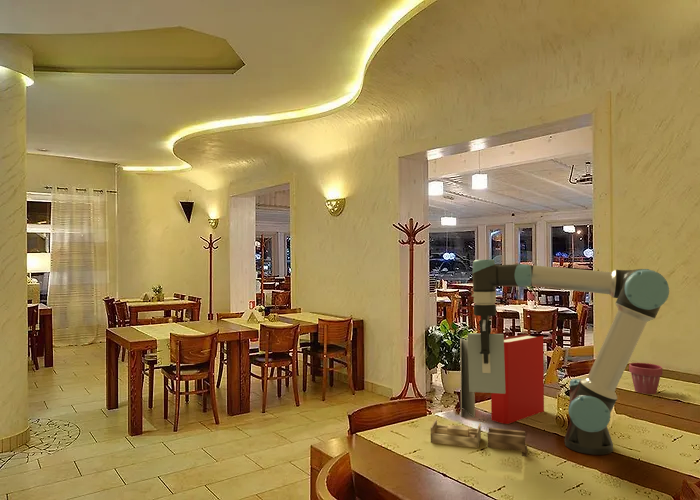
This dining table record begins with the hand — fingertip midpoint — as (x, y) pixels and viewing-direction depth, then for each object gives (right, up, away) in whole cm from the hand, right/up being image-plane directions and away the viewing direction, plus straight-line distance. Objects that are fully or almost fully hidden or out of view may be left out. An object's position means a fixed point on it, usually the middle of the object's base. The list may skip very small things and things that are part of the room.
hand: (486, 371), depth 180 cm
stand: (+6, -26, -4) cm, 27 cm away
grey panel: (0, -7, 0) cm, 7 cm away
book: (+22, -26, +35) cm, 49 cm away
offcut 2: (-9, -24, 0) cm, 26 cm away
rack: (-10, -26, +2) cm, 28 cm away
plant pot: (+96, -27, +72) cm, 123 cm away
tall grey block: (+2, -27, +40) cm, 48 cm away
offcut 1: (-10, -22, 0) cm, 24 cm away
